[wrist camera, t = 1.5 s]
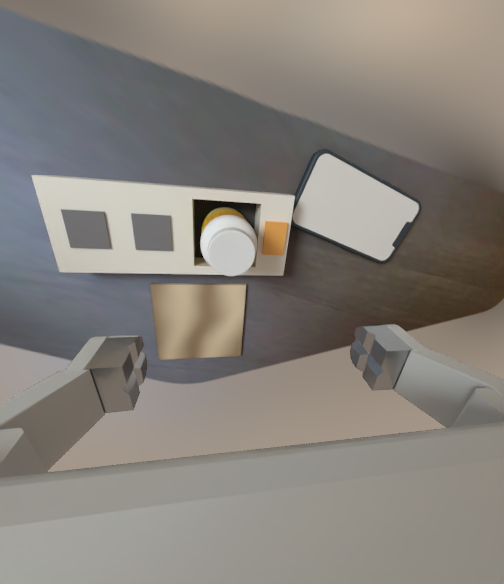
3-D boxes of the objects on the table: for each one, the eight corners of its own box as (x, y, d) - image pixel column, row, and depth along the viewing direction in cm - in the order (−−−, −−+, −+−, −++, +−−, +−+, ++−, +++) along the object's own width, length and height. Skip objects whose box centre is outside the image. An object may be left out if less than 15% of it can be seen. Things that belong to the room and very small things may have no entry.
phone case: (281, 221, 29) (378, 263, 34) (284, 223, 28) (386, 266, 33) (314, 145, 26) (417, 202, 31) (320, 143, 25) (427, 203, 29)
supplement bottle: (194, 214, 27) (187, 233, 18) (239, 200, 27) (254, 211, 18) (211, 257, 29) (212, 292, 21) (252, 244, 29) (270, 273, 21)
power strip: (74, 262, 27) (56, 274, 24) (51, 175, 23) (27, 175, 20) (276, 267, 31) (284, 277, 28) (286, 193, 27) (296, 196, 24)
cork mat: (159, 357, 35) (158, 359, 34) (150, 283, 29) (150, 284, 29) (240, 354, 37) (240, 355, 36) (245, 284, 32) (246, 285, 31)
